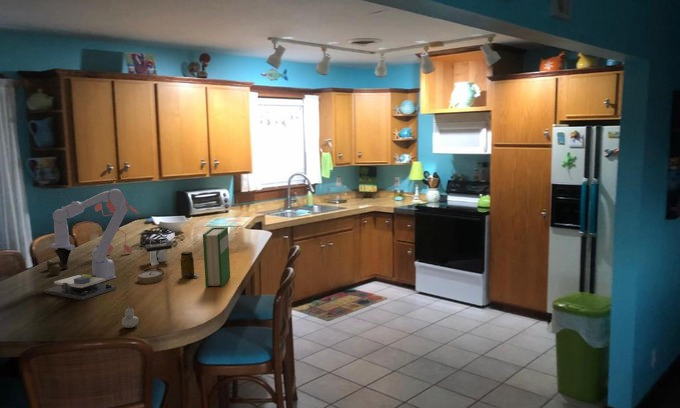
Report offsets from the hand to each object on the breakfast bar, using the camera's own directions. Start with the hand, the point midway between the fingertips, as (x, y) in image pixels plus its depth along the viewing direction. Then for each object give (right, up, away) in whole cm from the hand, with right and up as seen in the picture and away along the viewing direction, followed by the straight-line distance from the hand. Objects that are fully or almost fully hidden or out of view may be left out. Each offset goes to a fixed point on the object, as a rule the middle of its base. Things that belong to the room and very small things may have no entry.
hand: (64, 264), depth 247 cm
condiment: (+55, -7, +9) cm, 57 cm away
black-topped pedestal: (+31, -4, +39) cm, 50 cm away
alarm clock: (+38, -8, +6) cm, 39 cm away
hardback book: (+71, -8, -1) cm, 72 cm away
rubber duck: (+53, -16, -57) cm, 79 cm away
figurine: (0, -1, +66) cm, 66 cm away
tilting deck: (+13, -6, -12) cm, 18 cm away
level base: (+13, -11, -11) cm, 20 cm away
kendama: (-17, -7, +27) cm, 32 cm away
